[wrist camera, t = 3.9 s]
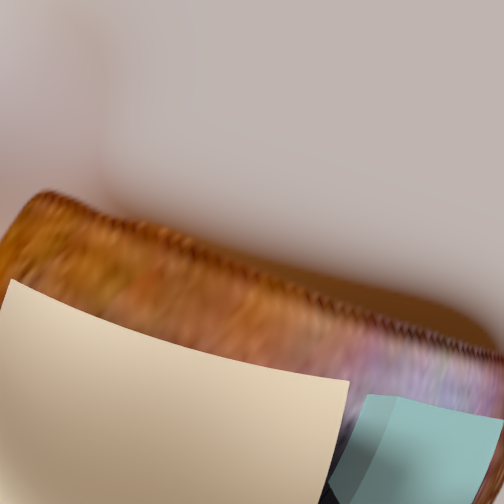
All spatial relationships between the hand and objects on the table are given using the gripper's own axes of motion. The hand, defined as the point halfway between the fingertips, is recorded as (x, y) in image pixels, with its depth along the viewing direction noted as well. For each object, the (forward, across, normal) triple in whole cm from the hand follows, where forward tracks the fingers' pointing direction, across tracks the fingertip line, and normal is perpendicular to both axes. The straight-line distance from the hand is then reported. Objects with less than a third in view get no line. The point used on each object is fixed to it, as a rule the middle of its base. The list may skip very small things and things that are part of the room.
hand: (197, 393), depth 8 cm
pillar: (+4, 0, +6) cm, 7 cm away
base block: (+2, -13, +9) cm, 16 cm away
